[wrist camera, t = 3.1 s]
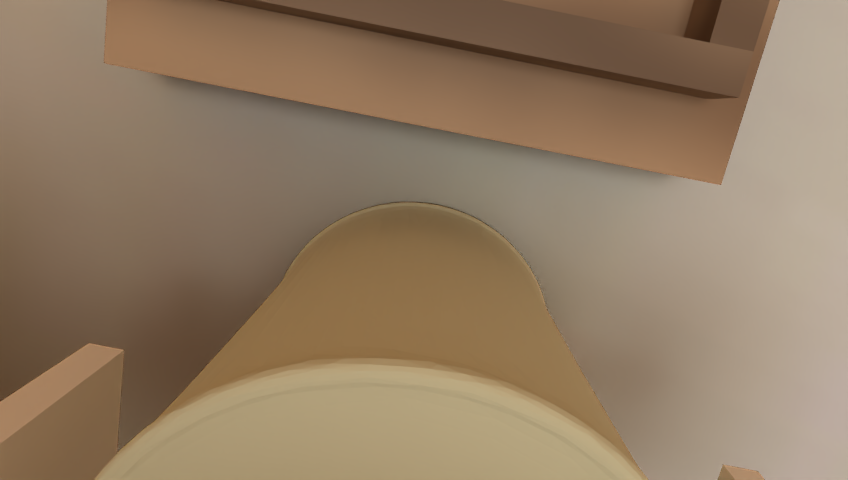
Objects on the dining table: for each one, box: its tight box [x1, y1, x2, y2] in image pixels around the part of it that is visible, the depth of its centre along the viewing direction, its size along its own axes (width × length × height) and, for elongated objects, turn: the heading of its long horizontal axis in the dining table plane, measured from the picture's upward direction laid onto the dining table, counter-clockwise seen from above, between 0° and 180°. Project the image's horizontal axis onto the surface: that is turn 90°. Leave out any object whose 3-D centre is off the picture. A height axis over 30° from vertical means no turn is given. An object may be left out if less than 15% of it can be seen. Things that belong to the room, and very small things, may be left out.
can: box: [94, 202, 648, 480], centre depth 13 cm, size 9×9×12 cm
